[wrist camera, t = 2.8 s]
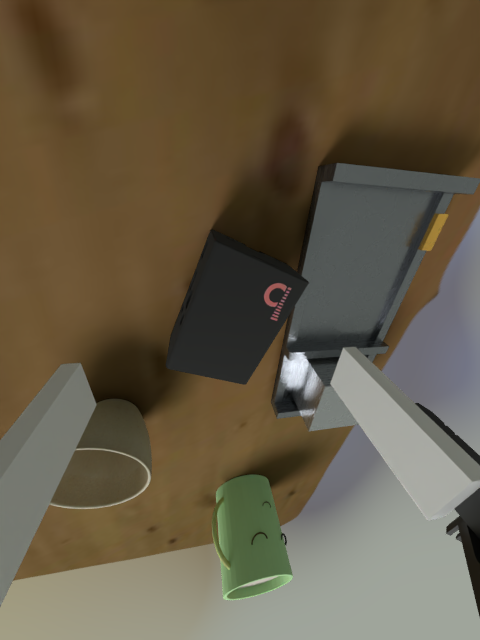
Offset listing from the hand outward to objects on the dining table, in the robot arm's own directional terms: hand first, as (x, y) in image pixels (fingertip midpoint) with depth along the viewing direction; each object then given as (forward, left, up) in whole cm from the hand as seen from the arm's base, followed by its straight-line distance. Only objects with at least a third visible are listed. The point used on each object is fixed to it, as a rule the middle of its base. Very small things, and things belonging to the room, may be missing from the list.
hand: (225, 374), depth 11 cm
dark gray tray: (+3, +14, -10) cm, 17 cm away
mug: (+39, +5, -10) cm, 40 cm away
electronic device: (+1, +1, -11) cm, 11 cm away
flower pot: (+15, -11, -10) cm, 21 cm away
